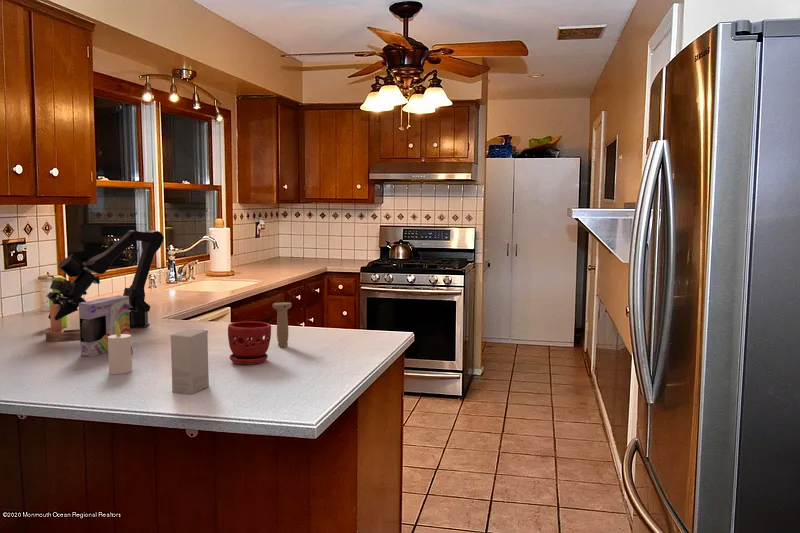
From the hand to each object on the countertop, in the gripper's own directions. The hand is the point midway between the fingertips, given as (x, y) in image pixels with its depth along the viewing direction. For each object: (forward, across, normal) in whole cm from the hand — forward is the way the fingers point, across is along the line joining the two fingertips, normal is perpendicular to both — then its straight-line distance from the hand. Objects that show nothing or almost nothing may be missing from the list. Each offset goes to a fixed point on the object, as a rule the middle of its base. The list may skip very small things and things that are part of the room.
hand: (52, 319), depth 243 cm
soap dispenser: (-5, -22, +16) cm, 28 cm away
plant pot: (-6, +84, +17) cm, 86 cm away
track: (+1, +2, +9) cm, 10 cm away
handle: (-21, +77, +32) cm, 86 cm away
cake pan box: (+6, +33, +5) cm, 34 cm away
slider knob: (+4, 0, +6) cm, 7 cm away
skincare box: (+16, +95, -5) cm, 96 cm away
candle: (+15, +62, -4) cm, 64 cm away
